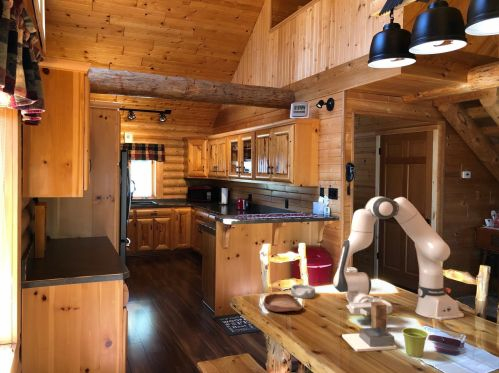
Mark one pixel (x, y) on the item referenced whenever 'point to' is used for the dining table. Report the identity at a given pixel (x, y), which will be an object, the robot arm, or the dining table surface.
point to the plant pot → (414, 341)
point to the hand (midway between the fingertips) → (377, 313)
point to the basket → (281, 303)
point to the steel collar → (376, 336)
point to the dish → (303, 291)
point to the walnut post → (378, 314)
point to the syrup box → (351, 269)
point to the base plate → (363, 343)
